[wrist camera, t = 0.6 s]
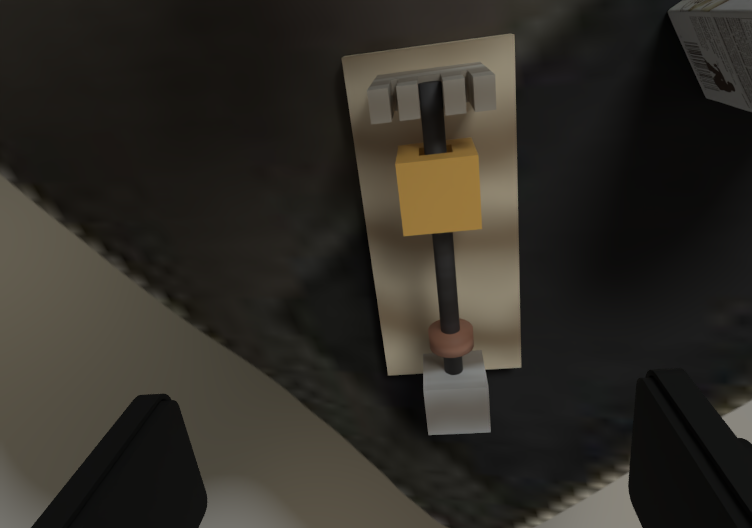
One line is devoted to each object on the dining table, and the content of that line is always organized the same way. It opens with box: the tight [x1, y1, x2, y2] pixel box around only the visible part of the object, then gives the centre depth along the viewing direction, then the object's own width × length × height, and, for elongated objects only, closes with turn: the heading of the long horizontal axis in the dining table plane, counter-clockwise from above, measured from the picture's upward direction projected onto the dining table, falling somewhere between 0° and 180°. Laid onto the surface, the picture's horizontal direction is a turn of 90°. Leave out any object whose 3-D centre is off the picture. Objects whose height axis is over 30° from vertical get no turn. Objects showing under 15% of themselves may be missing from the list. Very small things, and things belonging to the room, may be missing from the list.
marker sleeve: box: [395, 137, 482, 236], centre depth 30 cm, size 4×4×4 cm
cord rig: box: [342, 34, 521, 435], centre depth 33 cm, size 23×10×9 cm, turn 7°
